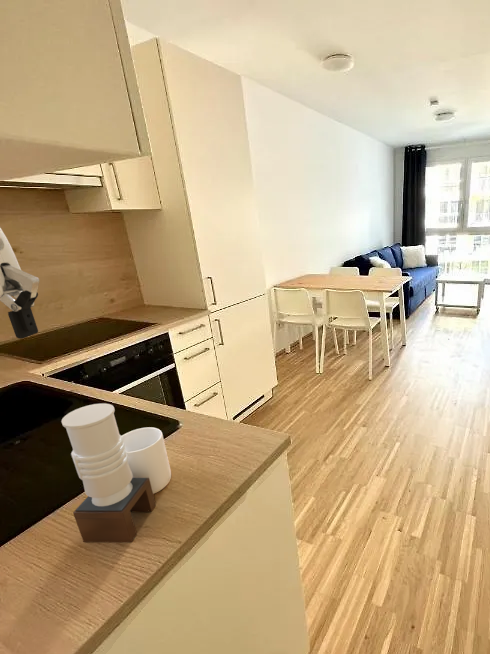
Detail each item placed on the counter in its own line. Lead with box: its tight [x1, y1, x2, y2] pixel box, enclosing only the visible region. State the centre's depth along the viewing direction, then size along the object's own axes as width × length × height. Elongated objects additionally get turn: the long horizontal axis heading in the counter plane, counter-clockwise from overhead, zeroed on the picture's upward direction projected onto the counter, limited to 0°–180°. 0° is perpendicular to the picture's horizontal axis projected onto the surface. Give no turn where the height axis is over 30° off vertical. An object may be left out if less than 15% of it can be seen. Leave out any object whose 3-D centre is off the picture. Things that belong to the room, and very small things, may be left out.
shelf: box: [72, 478, 157, 543], centre depth 61 cm, size 8×8×6 cm
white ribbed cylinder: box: [60, 402, 133, 506], centre depth 57 cm, size 7×7×15 cm
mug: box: [121, 426, 172, 495], centre depth 71 cm, size 12×8×10 cm
